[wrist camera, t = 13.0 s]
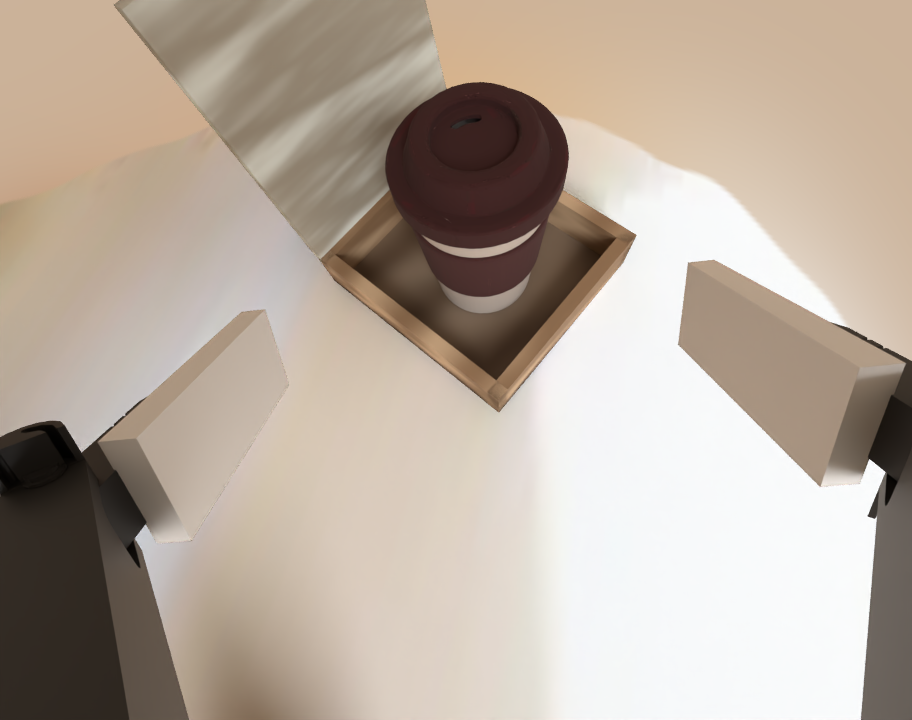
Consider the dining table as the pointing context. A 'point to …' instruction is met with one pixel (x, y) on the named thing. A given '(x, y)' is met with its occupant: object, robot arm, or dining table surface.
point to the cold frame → (366, 166)
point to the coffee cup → (478, 188)
